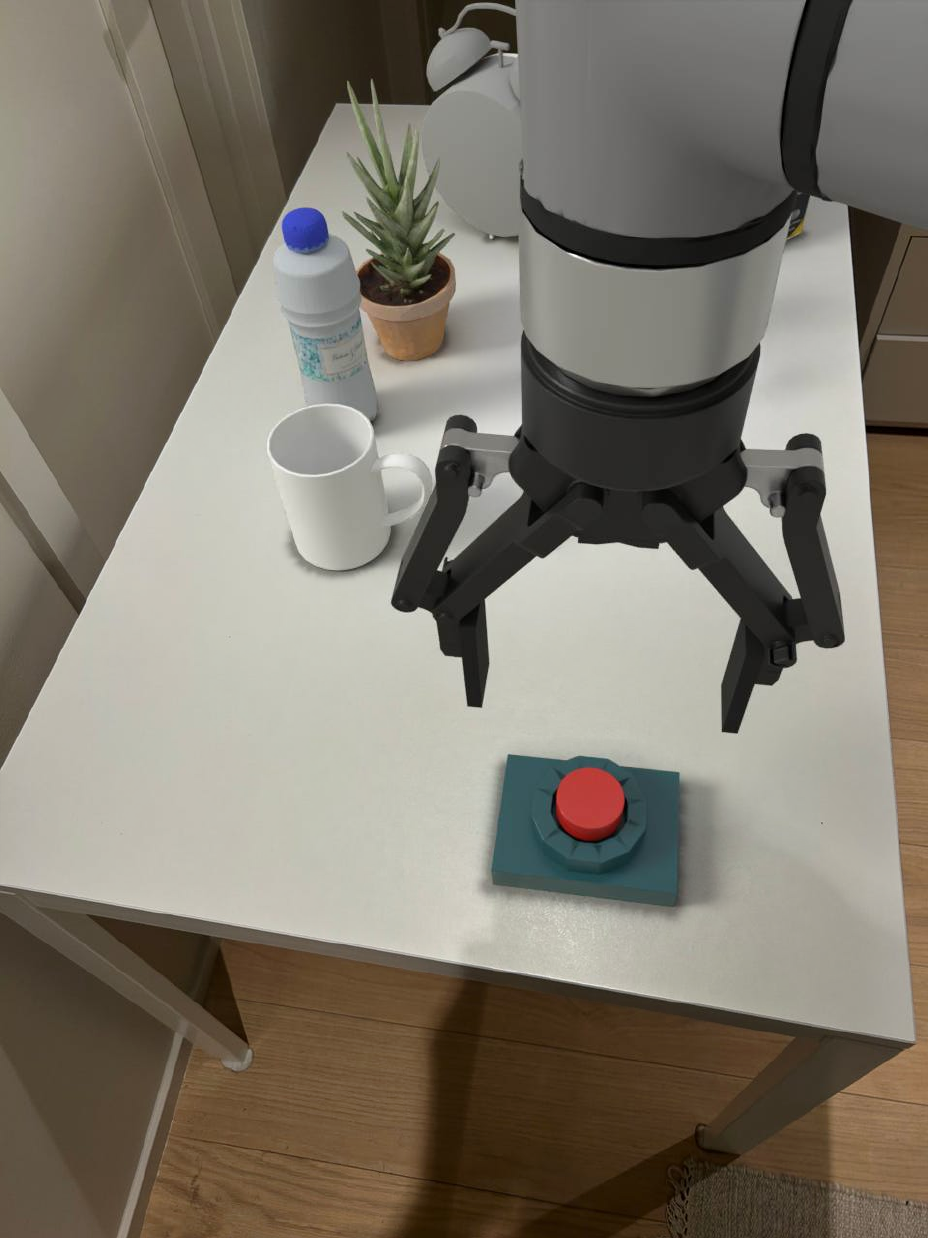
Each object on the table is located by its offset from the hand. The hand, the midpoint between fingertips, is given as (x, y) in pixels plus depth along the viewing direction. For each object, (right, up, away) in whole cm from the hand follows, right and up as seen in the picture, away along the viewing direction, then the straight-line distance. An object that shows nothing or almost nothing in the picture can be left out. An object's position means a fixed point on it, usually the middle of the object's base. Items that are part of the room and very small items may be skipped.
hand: (601, 697), depth 46 cm
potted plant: (-12, +31, +45) cm, 56 cm away
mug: (-15, +10, +29) cm, 34 cm away
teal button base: (+1, -10, +13) cm, 16 cm away
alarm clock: (-2, +47, +56) cm, 73 cm away
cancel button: (+1, -8, +10) cm, 13 cm away
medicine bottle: (+24, +45, +53) cm, 73 cm away
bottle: (-18, +22, +38) cm, 48 cm away
